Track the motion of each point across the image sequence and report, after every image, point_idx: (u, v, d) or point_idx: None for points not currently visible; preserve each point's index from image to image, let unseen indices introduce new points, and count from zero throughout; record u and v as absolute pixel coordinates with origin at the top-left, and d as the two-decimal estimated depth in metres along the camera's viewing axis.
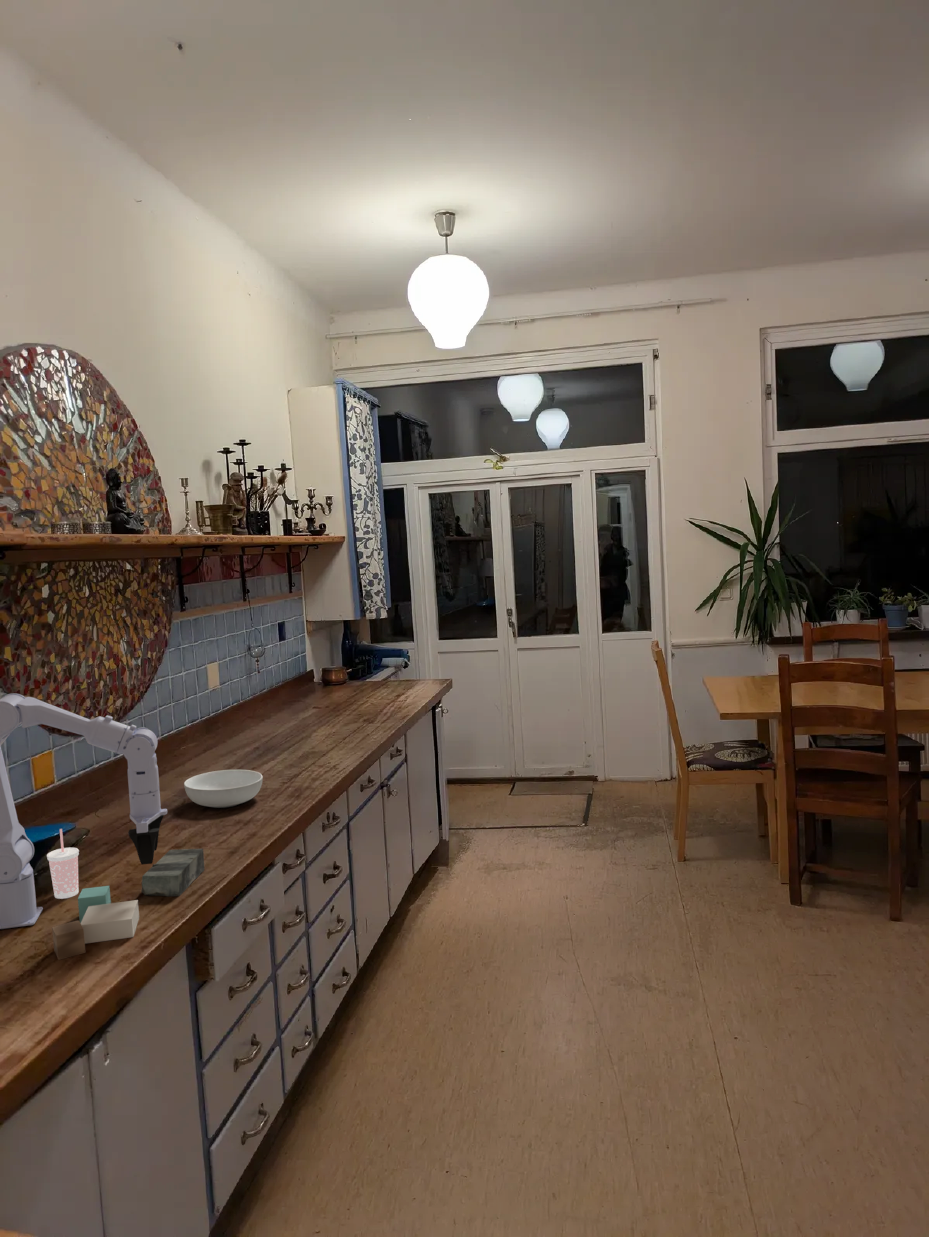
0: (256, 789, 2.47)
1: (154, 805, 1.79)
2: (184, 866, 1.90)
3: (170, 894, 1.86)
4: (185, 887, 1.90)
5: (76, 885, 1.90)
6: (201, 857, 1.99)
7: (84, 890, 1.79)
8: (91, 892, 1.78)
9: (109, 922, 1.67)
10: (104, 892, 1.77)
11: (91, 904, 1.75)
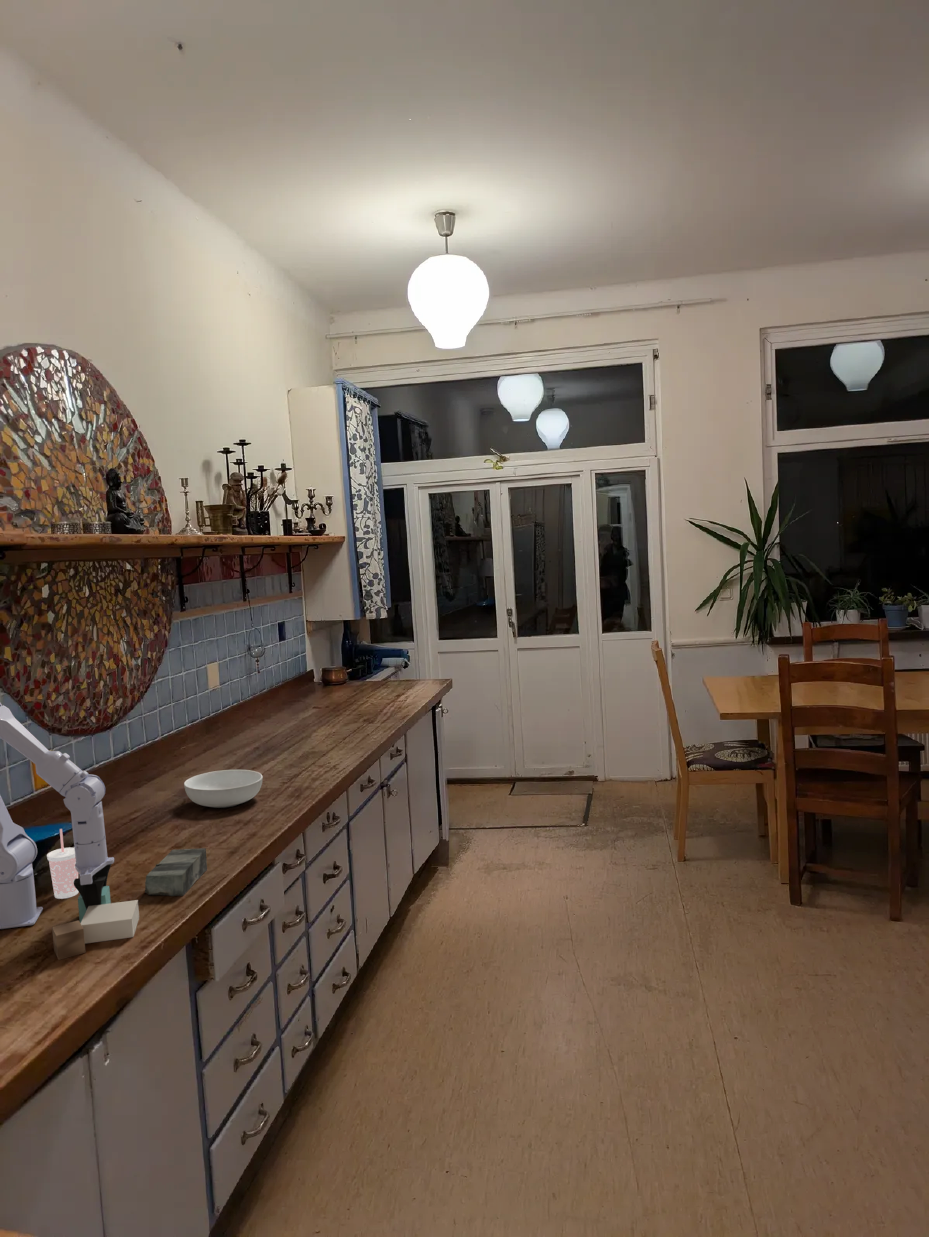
0: (256, 789, 2.47)
1: (100, 854, 1.75)
2: (188, 866, 1.90)
3: (174, 893, 1.86)
4: (189, 886, 1.90)
5: None
6: (204, 857, 1.99)
7: None
8: None
9: (109, 922, 1.67)
10: (104, 892, 1.77)
11: None
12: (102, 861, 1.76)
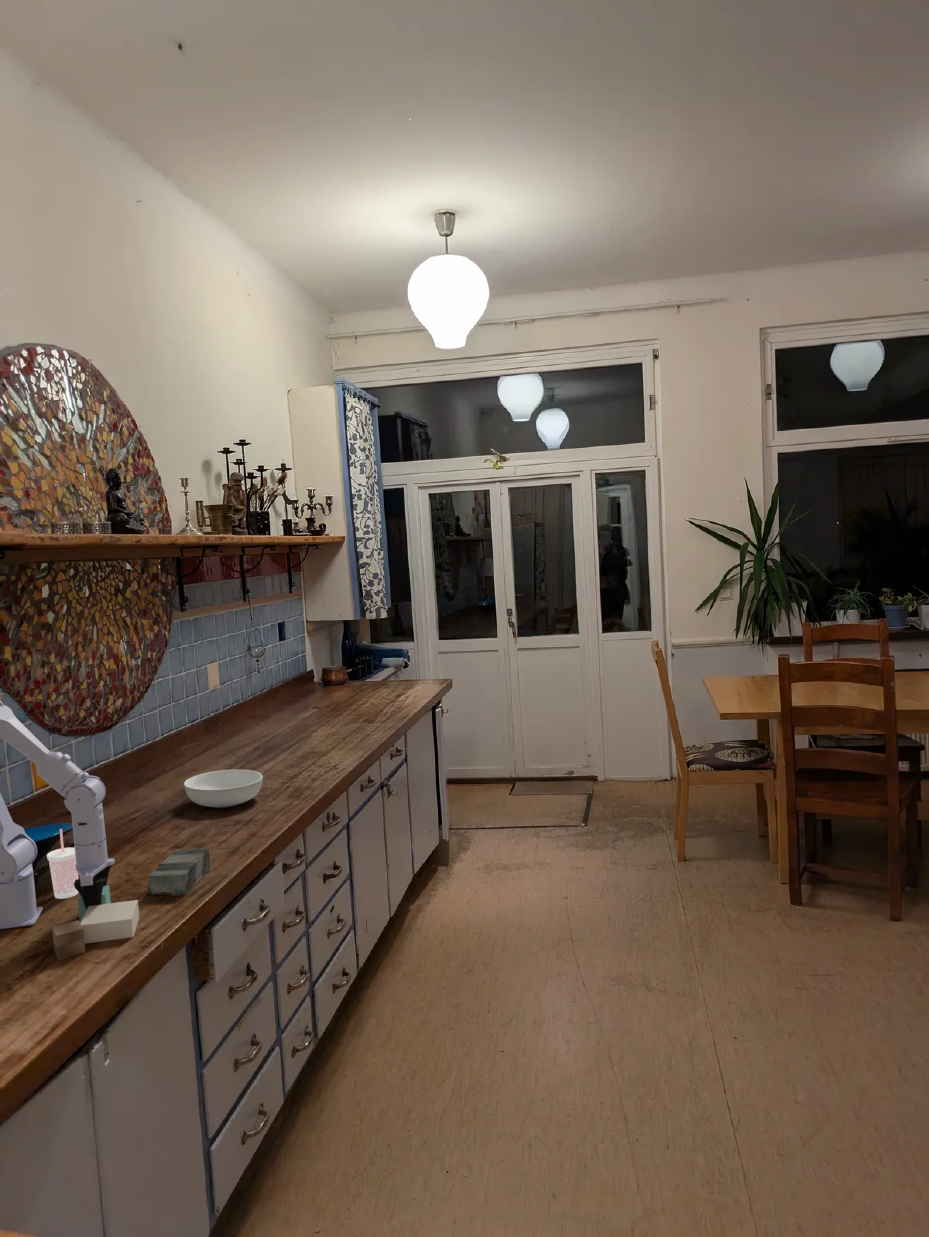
0: (256, 789, 2.47)
1: (100, 855, 1.75)
2: (191, 865, 1.90)
3: (177, 893, 1.86)
4: (191, 886, 1.90)
5: None
6: (207, 856, 1.99)
7: None
8: None
9: (109, 922, 1.67)
10: (104, 891, 1.77)
11: None
12: (102, 862, 1.76)
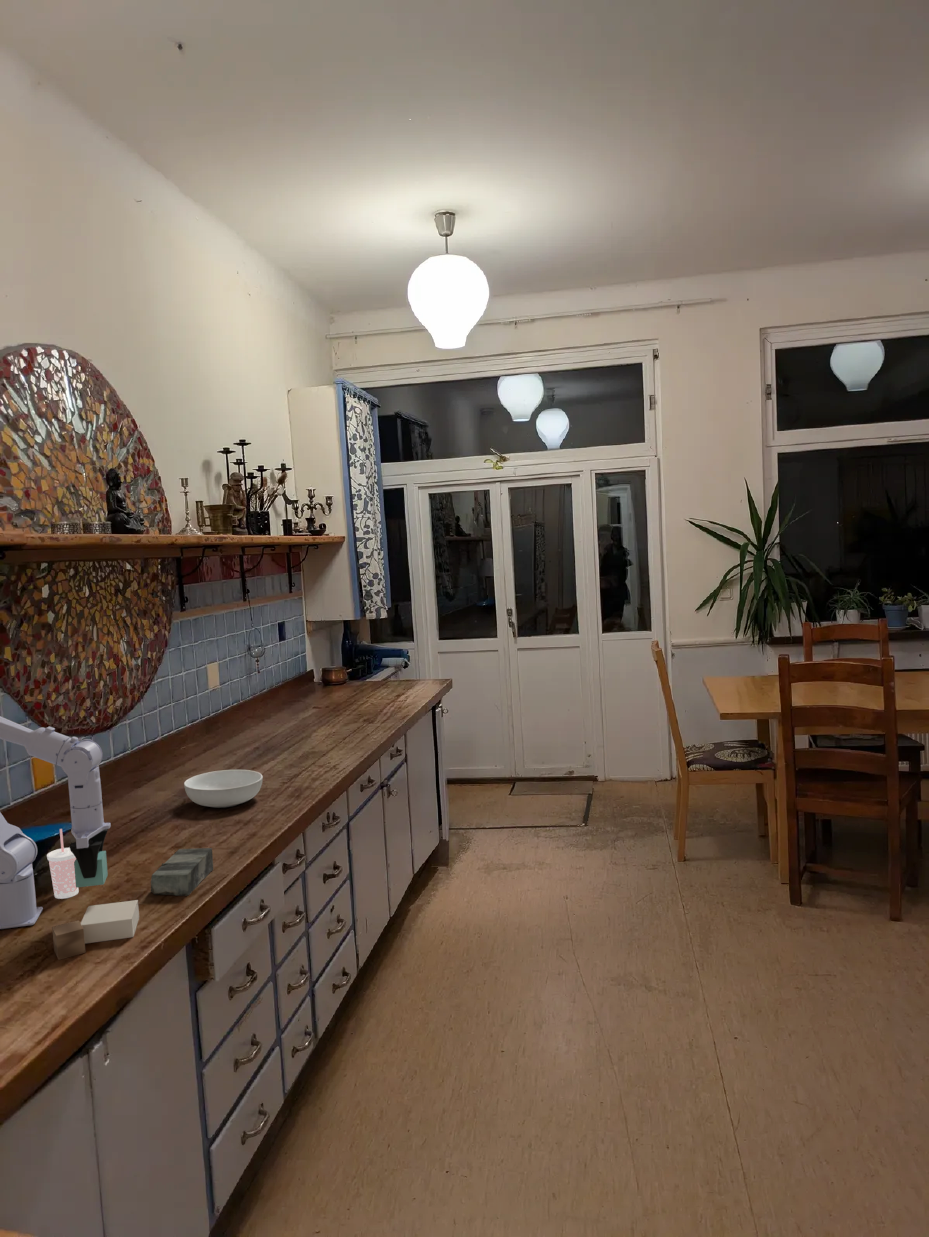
0: (256, 789, 2.47)
1: (96, 819, 1.75)
2: (193, 865, 1.90)
3: (179, 893, 1.86)
4: (194, 886, 1.90)
5: None
6: (210, 856, 1.99)
7: None
8: None
9: (109, 922, 1.67)
10: (100, 856, 1.76)
11: None
12: (98, 826, 1.75)
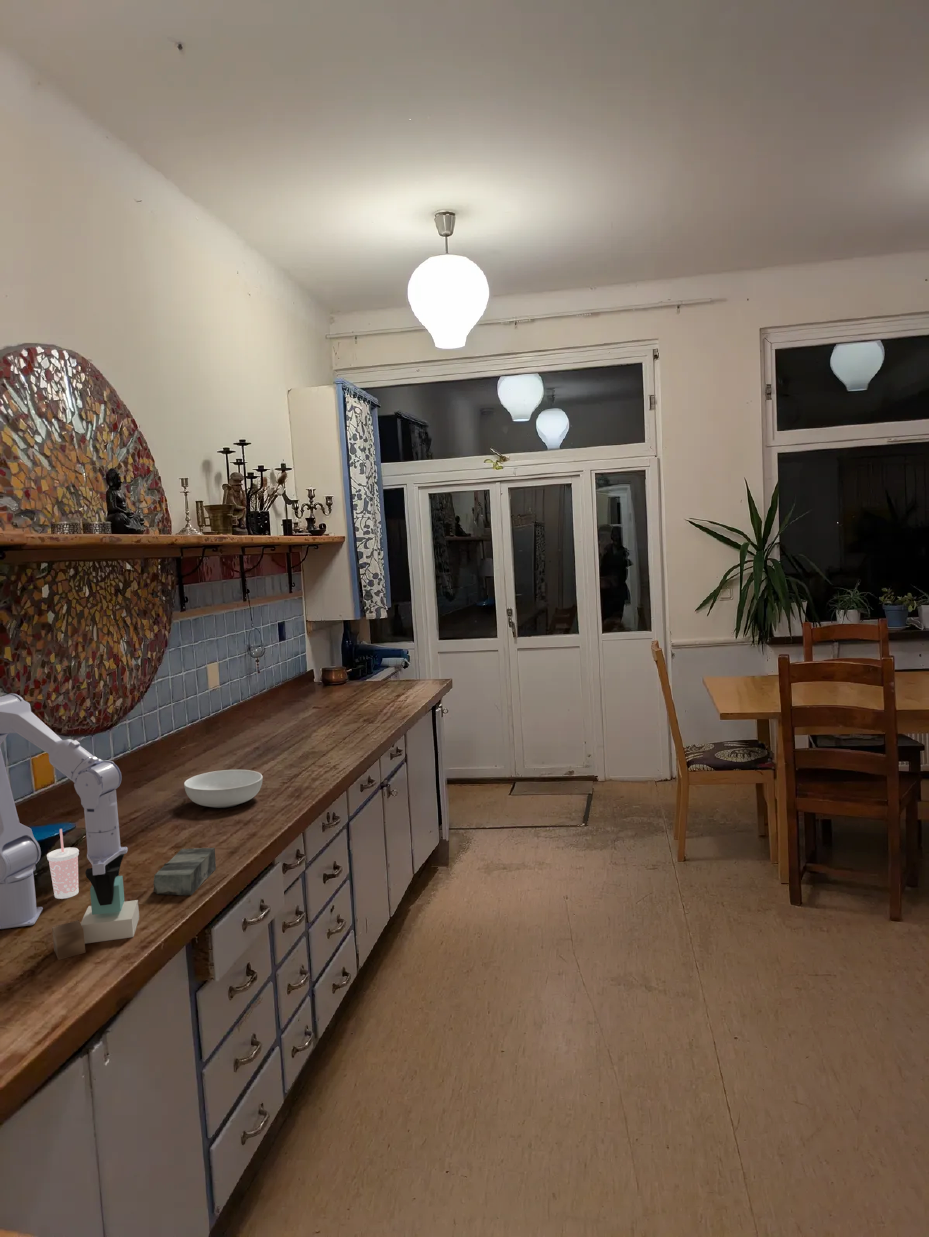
0: (256, 789, 2.47)
1: (113, 843, 1.68)
2: (196, 865, 1.90)
3: (182, 893, 1.87)
4: (197, 886, 1.90)
5: (76, 885, 1.90)
6: (213, 856, 1.99)
7: None
8: None
9: (109, 922, 1.67)
10: (117, 882, 1.70)
11: None
12: (115, 851, 1.68)
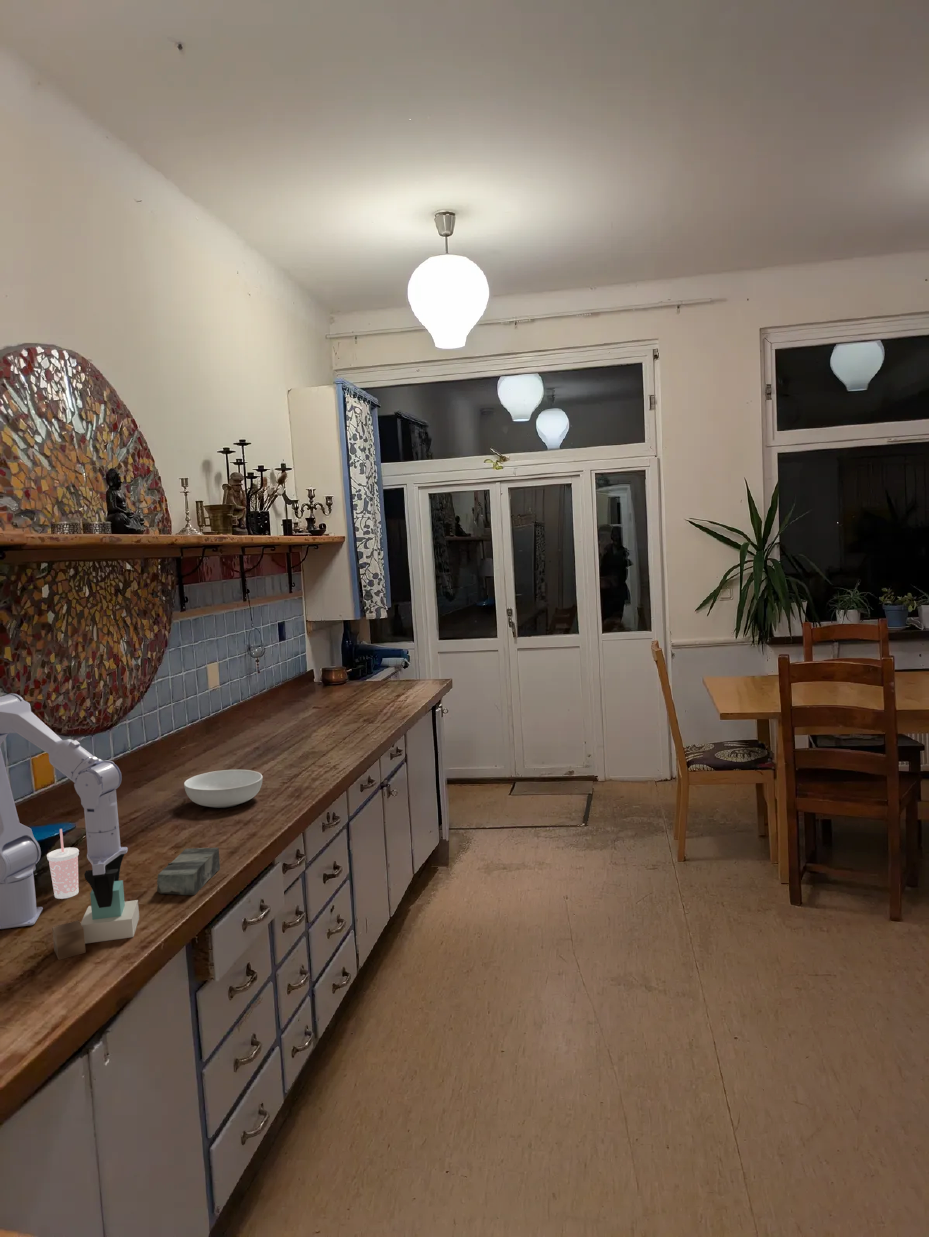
0: (256, 789, 2.47)
1: (113, 844, 1.68)
2: (200, 865, 1.90)
3: (185, 893, 1.87)
4: (200, 886, 1.90)
5: (76, 885, 1.90)
6: (216, 856, 1.99)
7: None
8: None
9: (109, 922, 1.67)
10: (117, 887, 1.70)
11: None
12: (115, 851, 1.68)
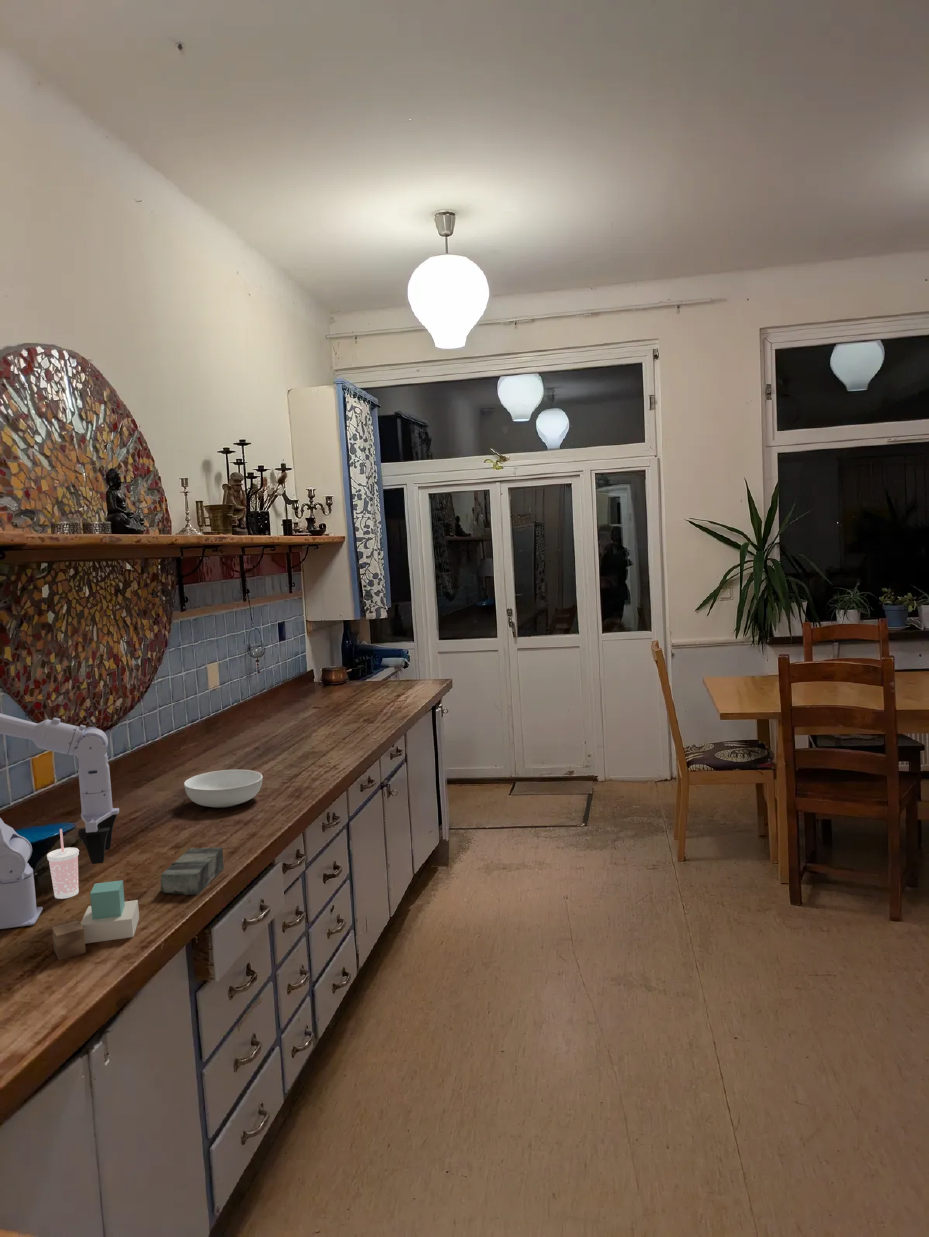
0: (256, 789, 2.47)
1: (105, 804, 1.79)
2: (203, 865, 1.90)
3: (189, 893, 1.87)
4: (204, 886, 1.90)
5: (76, 885, 1.90)
6: (220, 856, 1.99)
7: (96, 885, 1.71)
8: (104, 886, 1.70)
9: (109, 922, 1.67)
10: (117, 887, 1.70)
11: (104, 899, 1.68)
12: (107, 811, 1.79)
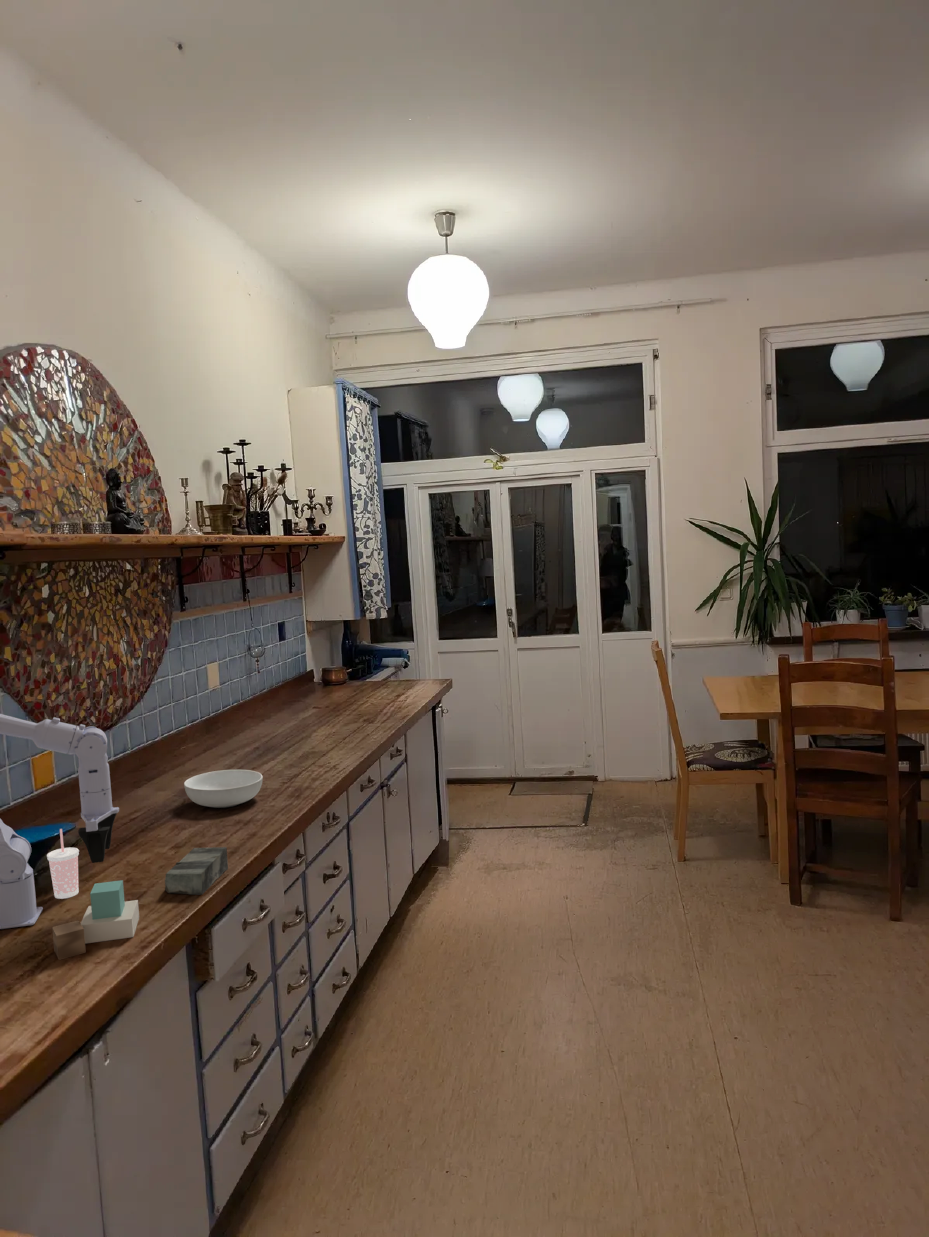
0: (256, 789, 2.47)
1: (105, 803, 1.80)
2: (207, 864, 1.91)
3: (193, 892, 1.87)
4: (208, 885, 1.90)
5: (76, 885, 1.90)
6: (224, 856, 1.99)
7: (96, 885, 1.71)
8: (104, 886, 1.70)
9: (109, 922, 1.67)
10: (117, 887, 1.70)
11: (104, 899, 1.68)
12: (107, 810, 1.80)
